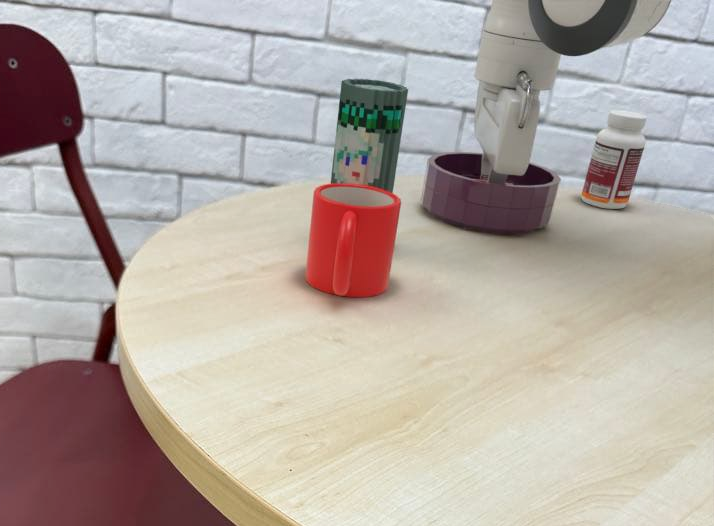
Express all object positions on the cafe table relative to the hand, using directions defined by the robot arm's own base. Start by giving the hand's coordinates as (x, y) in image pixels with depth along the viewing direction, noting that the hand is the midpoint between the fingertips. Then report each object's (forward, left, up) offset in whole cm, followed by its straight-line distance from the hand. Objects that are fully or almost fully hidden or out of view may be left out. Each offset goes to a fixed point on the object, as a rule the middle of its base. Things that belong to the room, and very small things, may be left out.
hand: (488, 196), depth 102 cm
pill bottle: (-18, -13, -3) cm, 22 cm away
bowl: (0, 0, -2) cm, 2 cm away
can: (+16, +16, -3) cm, 23 cm away
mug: (+17, +30, -3) cm, 35 cm away
